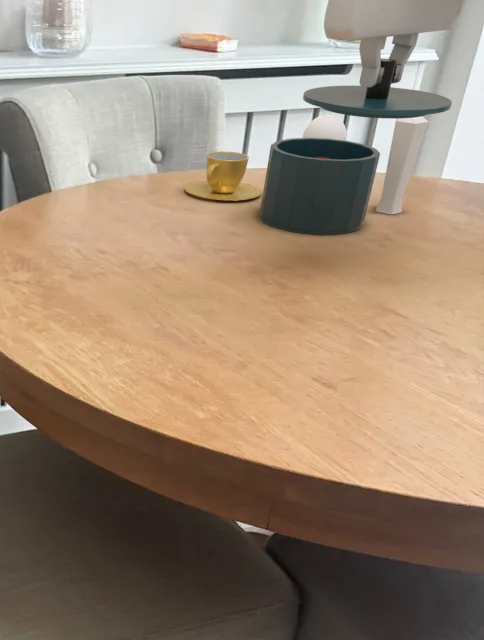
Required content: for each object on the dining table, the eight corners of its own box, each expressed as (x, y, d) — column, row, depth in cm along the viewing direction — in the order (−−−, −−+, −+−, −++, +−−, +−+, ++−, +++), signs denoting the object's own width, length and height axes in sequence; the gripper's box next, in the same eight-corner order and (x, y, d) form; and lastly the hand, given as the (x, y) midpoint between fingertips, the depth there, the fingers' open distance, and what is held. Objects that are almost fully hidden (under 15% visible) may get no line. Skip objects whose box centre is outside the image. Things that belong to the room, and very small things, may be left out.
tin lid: (476, 111, 96) (490, 62, 93) (396, 128, 88) (409, 75, 85) (355, 91, 105) (364, 46, 102) (272, 105, 97) (280, 57, 94)
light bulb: (342, 196, 139) (359, 118, 132) (303, 197, 138) (318, 119, 131) (323, 185, 144) (338, 110, 137) (285, 187, 143) (299, 111, 136)
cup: (209, 179, 146) (214, 144, 142) (274, 192, 140) (280, 155, 136) (169, 193, 138) (173, 156, 135) (235, 207, 132) (241, 168, 129)
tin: (382, 223, 127) (400, 151, 121) (320, 241, 120) (336, 165, 114) (301, 201, 136) (314, 133, 130) (239, 217, 128) (250, 145, 123)
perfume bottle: (404, 216, 130) (434, 102, 121) (373, 213, 131) (401, 99, 122) (404, 208, 133) (434, 97, 124) (374, 205, 134) (401, 94, 125)
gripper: (383, -76, 79) (347, 98, 88) (497, -76, 89) (455, 79, 98) (325, -77, 83) (296, 89, 92) (441, -77, 93) (405, 72, 102)
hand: (379, 84), depth 95 cm, fingers closed on tin lid, 2 cm apart
